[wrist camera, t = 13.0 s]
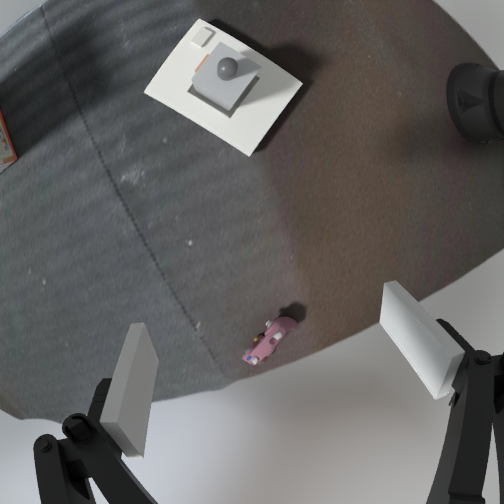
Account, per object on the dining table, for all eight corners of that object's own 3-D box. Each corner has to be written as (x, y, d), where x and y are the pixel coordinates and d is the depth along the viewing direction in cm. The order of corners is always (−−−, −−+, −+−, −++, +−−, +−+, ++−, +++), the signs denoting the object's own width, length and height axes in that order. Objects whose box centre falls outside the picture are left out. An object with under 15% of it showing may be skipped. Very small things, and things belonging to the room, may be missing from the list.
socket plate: (298, 85, 37) (304, 82, 34) (247, 155, 40) (249, 157, 37) (199, 24, 32) (198, 17, 29) (147, 94, 35) (142, 91, 32)
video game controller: (280, 305, 51) (271, 318, 44) (300, 322, 50) (295, 337, 44) (245, 344, 54) (233, 360, 47) (265, 360, 53) (255, 378, 46)
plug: (250, 81, 36) (266, 60, 24) (228, 111, 37) (234, 102, 25) (214, 59, 34) (214, 29, 22) (192, 89, 35) (182, 70, 23)
